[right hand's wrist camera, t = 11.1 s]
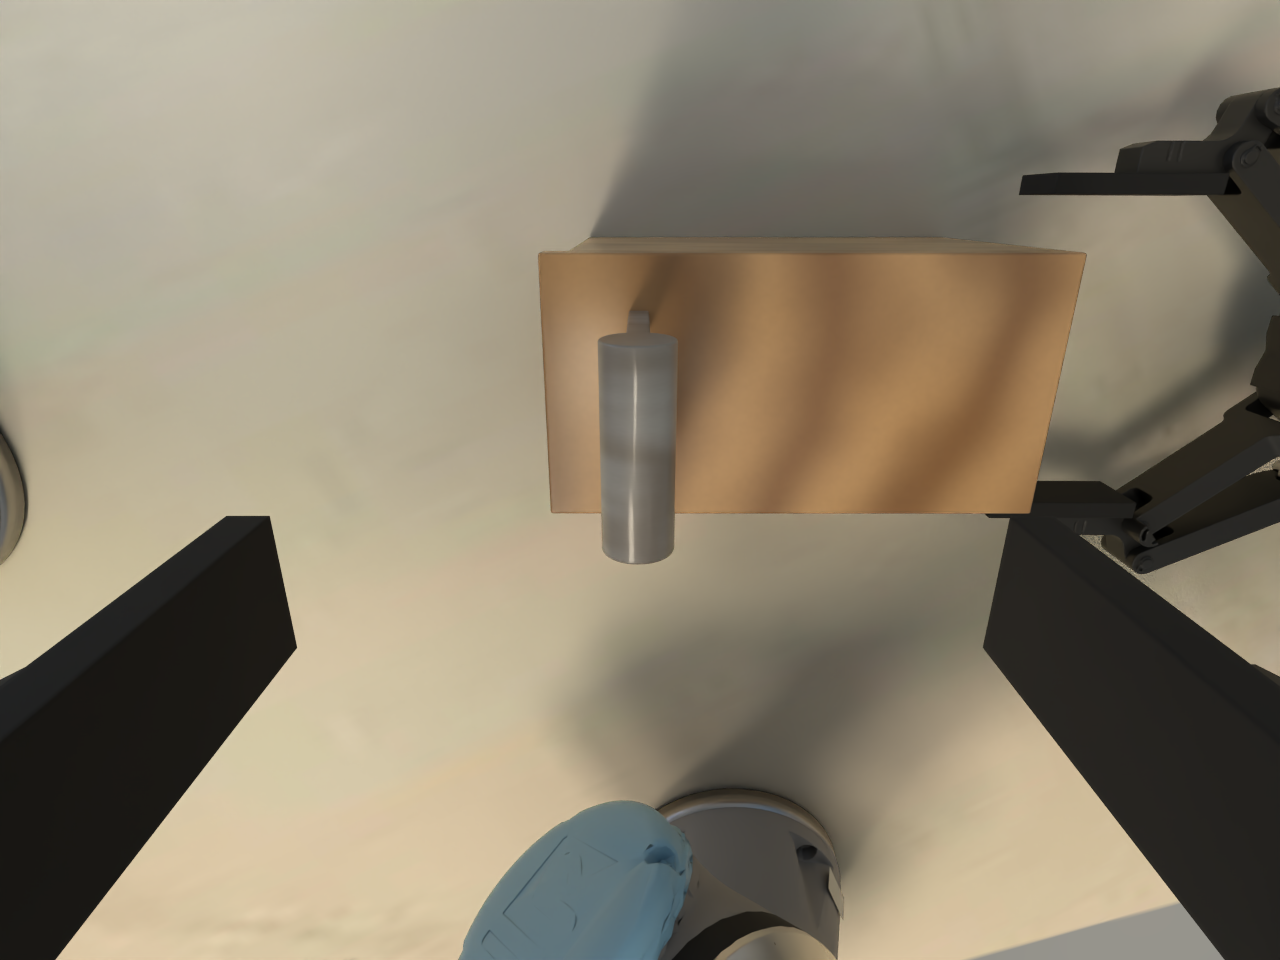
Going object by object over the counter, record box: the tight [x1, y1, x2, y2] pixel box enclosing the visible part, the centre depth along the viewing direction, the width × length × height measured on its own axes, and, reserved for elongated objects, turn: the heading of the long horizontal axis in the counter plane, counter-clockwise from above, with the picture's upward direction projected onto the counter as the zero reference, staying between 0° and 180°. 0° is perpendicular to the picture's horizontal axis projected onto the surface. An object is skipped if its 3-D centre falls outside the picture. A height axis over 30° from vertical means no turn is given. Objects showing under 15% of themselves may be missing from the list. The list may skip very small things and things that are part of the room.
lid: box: [538, 251, 1086, 564], centre depth 22 cm, size 18×10×8 cm, turn 90°
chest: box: [570, 237, 1063, 251], centre depth 32 cm, size 18×10×11 cm, turn 90°
